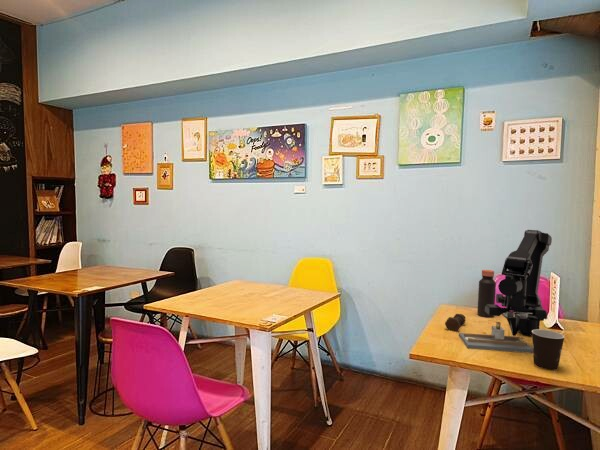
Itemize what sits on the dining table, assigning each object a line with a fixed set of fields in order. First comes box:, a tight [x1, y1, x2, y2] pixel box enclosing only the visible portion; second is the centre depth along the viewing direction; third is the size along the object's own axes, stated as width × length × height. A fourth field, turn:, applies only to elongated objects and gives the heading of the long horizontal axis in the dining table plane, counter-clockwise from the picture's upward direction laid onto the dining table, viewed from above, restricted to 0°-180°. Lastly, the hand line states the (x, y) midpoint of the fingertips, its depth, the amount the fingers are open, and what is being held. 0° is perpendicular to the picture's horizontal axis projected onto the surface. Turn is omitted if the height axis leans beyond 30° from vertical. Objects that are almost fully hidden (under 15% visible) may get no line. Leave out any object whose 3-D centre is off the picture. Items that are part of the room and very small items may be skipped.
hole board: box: [458, 332, 533, 354], centre depth 144 cm, size 21×13×2 cm, turn 81°
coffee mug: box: [531, 328, 565, 371], centre depth 126 cm, size 12×9×10 cm
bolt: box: [444, 313, 467, 332], centre depth 163 cm, size 6×5×15 cm
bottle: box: [476, 269, 497, 318], centre depth 179 cm, size 7×7×20 cm
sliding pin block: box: [490, 321, 506, 341], centre depth 143 cm, size 3×4×6 cm
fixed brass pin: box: [518, 336, 526, 342], centre depth 142 cm, size 2×2×2 cm
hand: (513, 335), depth 143 cm, fingers closed
